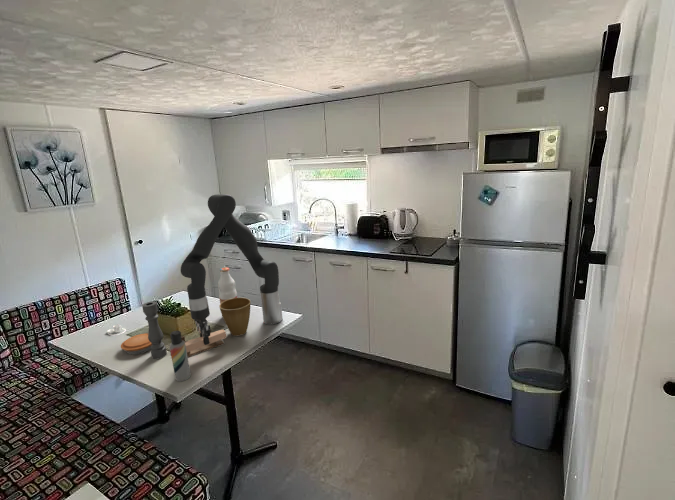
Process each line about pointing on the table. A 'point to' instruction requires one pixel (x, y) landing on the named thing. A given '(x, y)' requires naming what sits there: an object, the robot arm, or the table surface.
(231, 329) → the plant pot
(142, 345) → the pie
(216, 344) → the rack
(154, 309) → the candle holder
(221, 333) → the strip
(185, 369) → the lotion bottle
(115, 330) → the teacup and saucer
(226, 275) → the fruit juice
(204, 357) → the table surface
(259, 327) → the table surface
